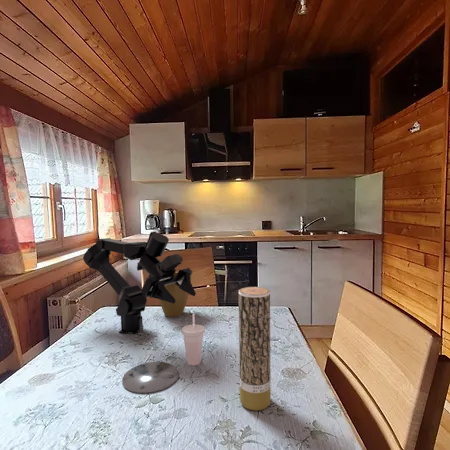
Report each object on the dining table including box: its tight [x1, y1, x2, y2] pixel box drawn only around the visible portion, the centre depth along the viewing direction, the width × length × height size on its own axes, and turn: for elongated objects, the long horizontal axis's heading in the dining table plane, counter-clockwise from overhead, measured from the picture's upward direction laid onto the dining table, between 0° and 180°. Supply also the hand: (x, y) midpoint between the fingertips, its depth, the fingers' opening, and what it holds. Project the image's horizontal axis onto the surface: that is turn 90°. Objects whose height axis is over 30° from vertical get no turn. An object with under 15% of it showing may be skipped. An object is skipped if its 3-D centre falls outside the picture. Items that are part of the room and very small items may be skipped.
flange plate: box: [121, 361, 180, 394], centre depth 79 cm, size 14×14×1 cm
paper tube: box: [238, 286, 272, 411], centre depth 68 cm, size 7×7×25 cm
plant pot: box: [158, 271, 192, 318], centre depth 127 cm, size 15×15×16 cm
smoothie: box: [181, 313, 206, 366], centre depth 87 cm, size 6×6×14 cm
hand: (185, 298), depth 95 cm, fingers open, 9 cm apart
